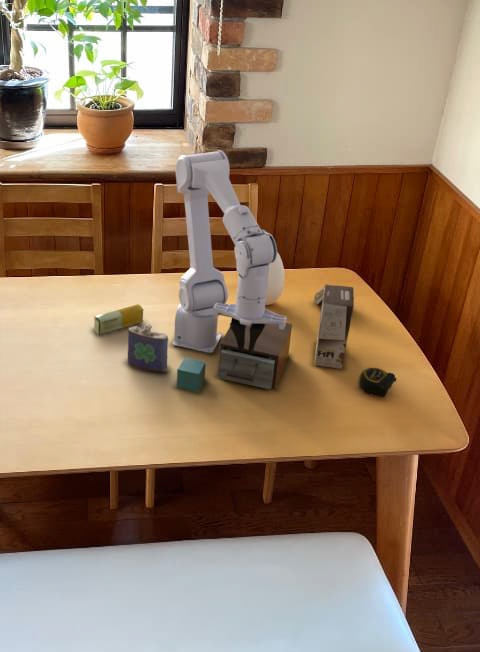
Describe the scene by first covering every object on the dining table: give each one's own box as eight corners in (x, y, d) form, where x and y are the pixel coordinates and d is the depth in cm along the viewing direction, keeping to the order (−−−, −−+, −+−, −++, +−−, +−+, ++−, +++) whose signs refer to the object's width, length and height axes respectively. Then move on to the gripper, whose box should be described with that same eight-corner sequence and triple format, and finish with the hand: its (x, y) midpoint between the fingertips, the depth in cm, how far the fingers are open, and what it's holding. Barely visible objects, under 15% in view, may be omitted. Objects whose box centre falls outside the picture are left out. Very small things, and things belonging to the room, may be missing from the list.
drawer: (264, 405, 164) (267, 378, 160) (211, 393, 167) (212, 366, 163) (283, 358, 178) (286, 332, 175) (234, 348, 182) (236, 322, 178)
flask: (168, 368, 176) (169, 327, 170) (163, 375, 174) (164, 334, 168) (130, 358, 179) (130, 318, 173) (125, 365, 176) (124, 324, 170)
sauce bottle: (283, 311, 197) (291, 245, 187) (251, 310, 197) (257, 244, 187) (279, 295, 204) (287, 231, 194) (249, 294, 204) (255, 230, 194)
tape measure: (383, 403, 167) (386, 388, 165) (352, 391, 170) (355, 377, 168) (394, 387, 172) (398, 373, 170) (364, 376, 175) (367, 362, 173)
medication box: (98, 335, 186) (98, 322, 184) (93, 329, 188) (93, 315, 186) (143, 322, 191) (144, 308, 189) (138, 316, 193) (138, 302, 190)
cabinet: (274, 389, 170) (278, 355, 166) (218, 376, 174) (220, 343, 169) (288, 355, 181) (292, 323, 176) (234, 344, 184) (237, 312, 180)
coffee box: (342, 369, 177) (354, 307, 168) (313, 365, 178) (323, 303, 169) (343, 347, 184) (354, 286, 175) (315, 343, 185) (324, 282, 176)
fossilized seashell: (362, 304, 196) (335, 292, 204) (352, 285, 192) (325, 274, 200) (340, 325, 195) (315, 312, 203) (330, 306, 191) (304, 294, 200)
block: (176, 387, 170) (177, 369, 167) (183, 375, 174) (184, 357, 171) (198, 392, 169) (199, 374, 166) (204, 380, 172) (205, 361, 170)
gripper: (210, 295, 155) (206, 353, 162) (283, 309, 151) (276, 368, 159) (220, 279, 161) (216, 335, 168) (291, 292, 157) (284, 349, 164)
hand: (246, 350), depth 164 cm, fingers closed
